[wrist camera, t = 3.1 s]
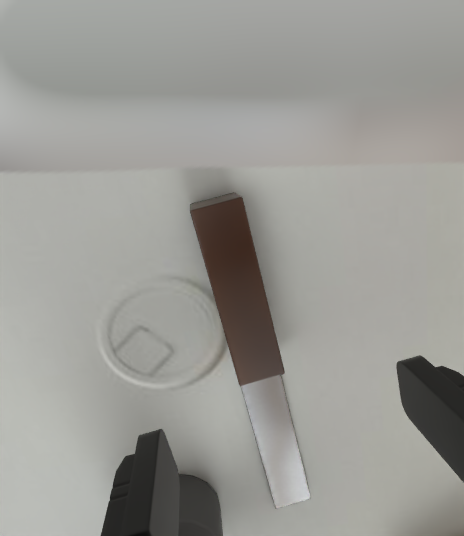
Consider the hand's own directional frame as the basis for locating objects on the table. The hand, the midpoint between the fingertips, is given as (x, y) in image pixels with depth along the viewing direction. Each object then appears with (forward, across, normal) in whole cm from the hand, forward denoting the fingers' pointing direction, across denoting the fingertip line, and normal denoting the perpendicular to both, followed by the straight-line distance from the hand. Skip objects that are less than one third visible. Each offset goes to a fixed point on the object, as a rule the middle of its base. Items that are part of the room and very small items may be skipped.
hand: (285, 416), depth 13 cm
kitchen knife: (+11, 0, +4) cm, 11 cm away
